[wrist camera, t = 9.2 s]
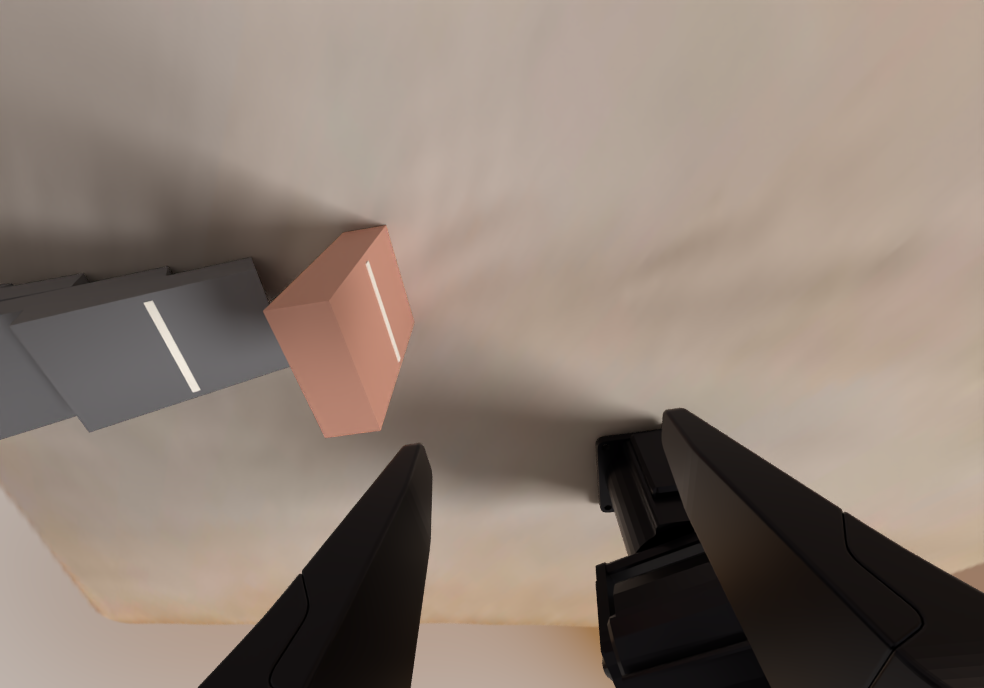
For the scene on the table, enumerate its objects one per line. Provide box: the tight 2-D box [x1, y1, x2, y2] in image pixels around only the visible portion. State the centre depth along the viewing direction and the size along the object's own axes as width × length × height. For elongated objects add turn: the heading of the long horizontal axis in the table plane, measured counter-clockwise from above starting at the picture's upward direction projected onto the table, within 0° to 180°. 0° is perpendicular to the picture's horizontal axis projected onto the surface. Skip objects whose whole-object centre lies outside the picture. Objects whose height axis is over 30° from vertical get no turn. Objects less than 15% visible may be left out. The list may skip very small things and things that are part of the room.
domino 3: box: [0, 266, 172, 440], centre depth 19 cm, size 5×2×8 cm
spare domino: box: [263, 225, 414, 438], centre depth 17 cm, size 5×2×8 cm, turn 9°
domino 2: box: [9, 257, 290, 432], centre depth 19 cm, size 5×2×8 cm
